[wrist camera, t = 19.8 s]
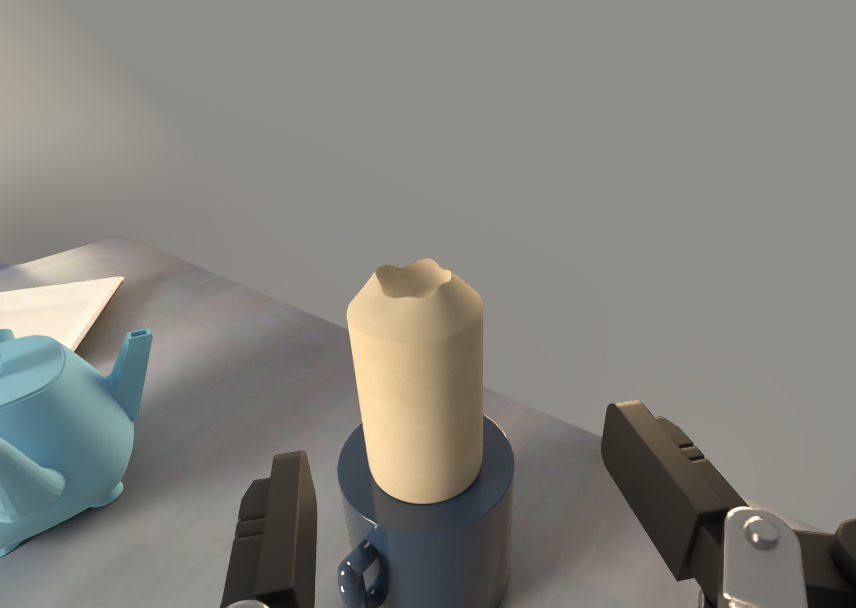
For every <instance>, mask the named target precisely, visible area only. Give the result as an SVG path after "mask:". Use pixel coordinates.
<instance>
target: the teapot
mask: <svg viewBox="0 0 856 608" xmlns="http://www.w3.org/2000/svg"><path fill="white" fill-rule="evenodd" d="M151 342H152V333H151V331H150V329H149V327H148V328H144V329H140V330H135V331H131V332H127V333H126V338H125V341H124V343H123V346H122V348H121V351H120V353H119V356H118V358H117V360H116V363H115V365H114V368H113V370H112V373H111V374H110V375H108V376H106V377H104V376H103V375H102V374H101V373H100V372H99V371H97V370H96V369H95V368H94V367H93V366H91V365H90V364H89V363H88V362H86V361H85V360H84V359H82V358H81V357H80V356H78V355H77V354H76V353H74V352H73V351H72V350H70V349H69V348H68V347H66V346H65V345H63V344H62V343H60V342H58V341H57V340H55V339H53V338H51V337H48V336H43V335H30V336H25V337H21V338H17V339H15V336H14V334H13V332H12V330H11V329H0V557H1V556H3V555H5V554H7V553H9V552H10V551H12V550H13V549H15V548H16V547H17V546H18V545H19V544H20V543H21V542H22V541H23V540H25V539H27V538H29V537H32V536H34V535H36V534H38V533H40V532H43V531H45V530H47V529H49V528H51V527H53V526H55V525H57V524H59V523H61V522H63V521H65V520H67V519H69V518H71V517H72V516H74V515H76V514H78V513H80V512H82V511H83V510H85V509H87V508H89V507H93V508H97V507H101V506H104V505H107V504H109V503H111V502H112V501H114V500H115V499H116V498H117V497H118V496H119V495H120V494H121V492H122V491H123V483H122V482H120V481H121V479H122V477H123V475H124V473H125V471H126V469H127V466H128V463H129V459H130V456H131V452H132V448H133V442H134V427H133V422H134V421H135V420H137V419H138V414H139V408H140V403H141V397H142V392H143V386H144V381H145V375H146V370H147V364H148V359H149V353H150V348H151Z"/></svg>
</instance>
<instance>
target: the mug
mask: <svg viewBox="0 0 856 608" xmlns="http://www.w3.org/2000/svg"><path fill="white" fill-rule="evenodd" d="M337 473H338V482H339V487H340V493H341V498H342V503H343V508H344V513H345V519H346V524H347V529H348V534H349V540H350V545H351V550H352V552H351V553H350V554H349V555H348V556H347V557H346V558H345V559H344V560H343V561H342V562H341V563H340V565H339V567H338V583H339V588H340V592H341V597H342V601H343V606H344V608H496V607H497V605H498V604H499V602H500V600H501V598H502V597H503V595H504V592H505V589H506V587H507V583H508V578H509V569H510V549H511V527H512V506H513V485H514V454H513V451H512V447H511V445H510V442H509V440H508V438H507V437H506V435H505V434H504V432H503V431H502V429H501V428H500V427H499V426H498V425H497V424H496V423H495V422H494V421H492V420H491V419H490V418H489V417H487V416H486V415H484V414H483V451H482V462H481V467H480V470H479V473H478V475H477V477H476V478H475V480H474V481H473V482H472V484H471V485H470V486H469V487H468V488H467V489H465V490H464V491H463V492H461V493H460V494H458V495H456V496H455V497H452V498H450V499H448V500H444V501H441V502H436V503H428V504H418V503H410V502H406V501H402V500H399V499H397V498H394V497H392V496H391V495H389V494H387V493H386V492H385V491H384V490H382V489H381V488H380V487H379V485H378V484H377V483H376V481H375V480H374V478H373V475H372V473H371V470H370V467H369V462H368V456H367V450H366V443H365V436H364V430H363V423H362V424H360V425H359V426H358V427H357V428H356V429H355V430H354V431H353V433H352V434H351V435H350V436H349V438H348V439H347V441H346V442H345V444H344V446H343V448H342V450H341V453H340V457H339V460H338V468H337Z"/></svg>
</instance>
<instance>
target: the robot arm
mask: <svg viewBox="0 0 856 608" xmlns="http://www.w3.org/2000/svg"><path fill="white" fill-rule="evenodd" d="M601 453H602V458H603V461H604V464H605V466H606V469H607V470H608V472H609V474H610V475H611V477H612V478H613V480H614V481H615V483H616V485H617V486H618V488H619V489H620V491H621V493H622V494H623V496H624V497H625V499H626V501H627V502H628V504H629V505H630V507H631V509H632V510H633V512H634V513H635V515H636V517H637V518H638V520H639V521H640V523H641V525H642V526H643V528H644V529H645V531H646V533H647V534H648V536H649V537H650V539H651V540H652V542H653V544H654V545H655V547H656V548H657V550H658V552H659V553H660V555H661V556H662V558H663V560H664V561H665V563H666V564H667V566H668V568H669V569H670V571H671V572H672V574H673V576H674V577H675V579H676V580H677V581H682V580H687V579H692V578H695V579H696V581H697V582H698V584H699V585H700V587H701V589H700V592H699V600H698V608H856V519H850V520H846V521H844V522H842V523H841V524H840V525H839V527H838V529H837V531H836V533H835V534H827V533H818V532H809V531H800V530H794V529H791V528H790V527H789V526H788V525H787V524H786V523H785V522H783V521H782V520H781V519H779V518H778V517H776V516H774V515H773V514H771V513H769V512H766V511H764V510H761V509H757V508H753V507H749V506H748V505H747V504H746V503H745V501H744V500H743V499H742V498H741V497H740V496H739V495H738V493H737V492H736V491H735V490H734V489H733V488H732V487H731V486H730V484H729V483H728V482H727V481H726V480H725V479H724V478H723V476H721V474H720V473H719V472H718V471H717V470H716V468H715V467H714V466H713V465H712V464H711V463H710V462H709V460H708V459H705V458H704V455H703V454H702V452H701V451H700V450H699V449H698V448H697V447H696V446H694V445H693V442H692V441H691V440H690V439H689V438H688V437H687V435H685V433H684V432H683V431H682V430H681V429H680V428H679V427H678V426H676V425H674V424H673V423H671V422H670V421H668V420H667V419H665V418H664V417H662V416H658V417H654V416H653V415H652V414H651V413H650V411H649V410H648V409H647V408H646V407H645V405H644V404H643V403H642V402H641V401H639V400H632V401H626V402H620V403H613V404H609V405H608V407H607V411H606V417H605V424H604V430H603V437H602V443H601ZM316 542H317V502H316V494H315V489H314V485H313V481H312V476H311V472H310V467H309V463H308V459H307V454H306V452H305V450H303V451H297V452H290V453H284V454H277V455H275V456H274V458H273V464H272V471H271V478H265V479H259V480H254V481H253V482H252V484H251V486H250V487H249V489H248V490H247V492H246V493H245V495H244V496H243V498H242V500H241V505H240V511H239V516H238V523H237V526H236V531H235V539H234V541H233V546H232V552H231V557H230V562H229V567H228V572H227V577H226V582H225V588H224V593H223V598H222V602H221V606H220V608H314V605H315V573H316Z"/></svg>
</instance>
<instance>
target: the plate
mask: <svg viewBox="0 0 856 608" xmlns="http://www.w3.org/2000/svg"><path fill="white" fill-rule="evenodd" d="M123 280H124V277H112V278H104V279H97V280H89V281H82V282H74V283H67V284H59V285H52V286H44V287H37V288H29V289H22V290H14V291H7V292H0V329H11V330H12V332H13V334H14V336H15V339H17V338H21V337H25V336H30V335H43V336H48V337H51V338H53V339H55V340H57V341H58V342H60V343H62V344H63V345H65V346H66V347H68V348H69V349H70V350H72V351H73V352H74V353H75V352H76V351H77V349H78V348H79V346H80V345H81V343H82V342H83V340H84V339H85V337H86V336H87V334H88V333H89V331H90V330H91V328H92V327H93V325H94V324H95V322H96V321H97V319H98V318H99V316H100V315H101V313H102V312H103V310H104V309H105V307H106V306H107V304H108V303H109V302H110V300H111V299H112V297H113V296H114V294H115V293H116V291H117V290H118V288H119V287H120V285H121V284H122V282H123Z"/></svg>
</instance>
